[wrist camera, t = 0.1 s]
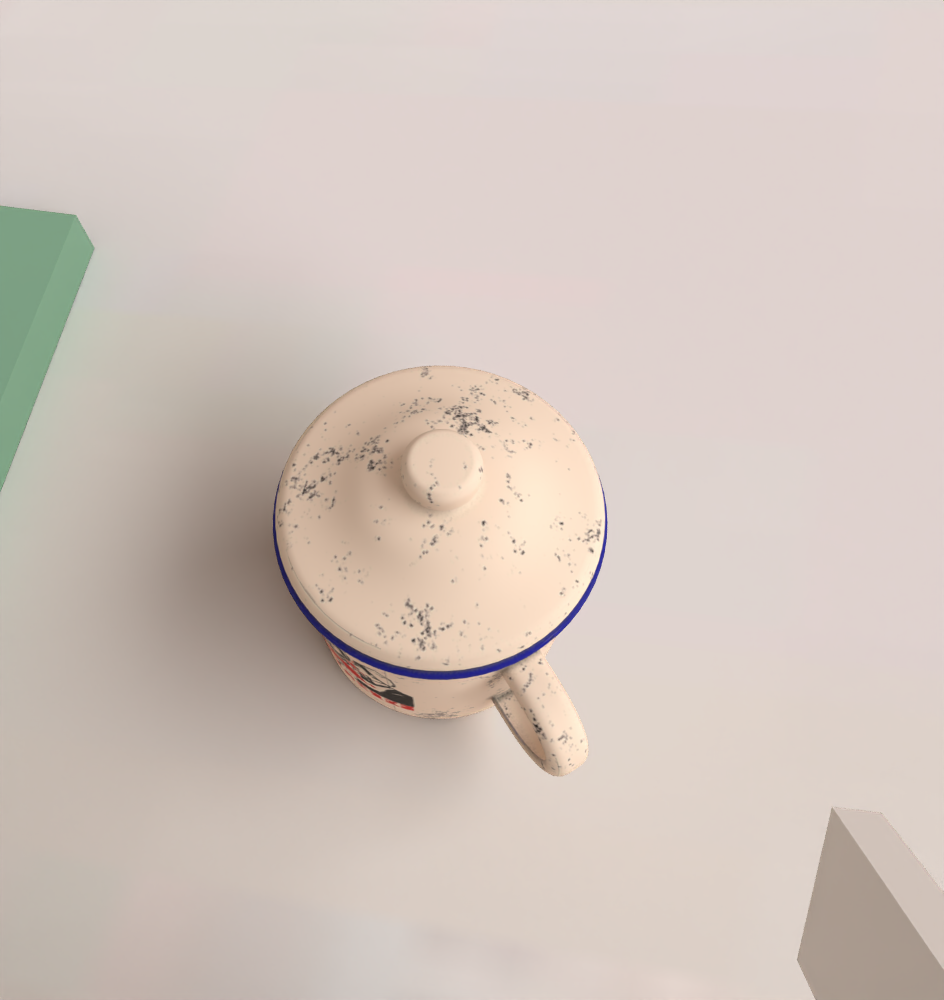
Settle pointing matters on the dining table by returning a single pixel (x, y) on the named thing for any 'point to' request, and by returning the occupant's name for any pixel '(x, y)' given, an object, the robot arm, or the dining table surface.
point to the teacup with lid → (446, 547)
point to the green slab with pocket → (33, 308)
